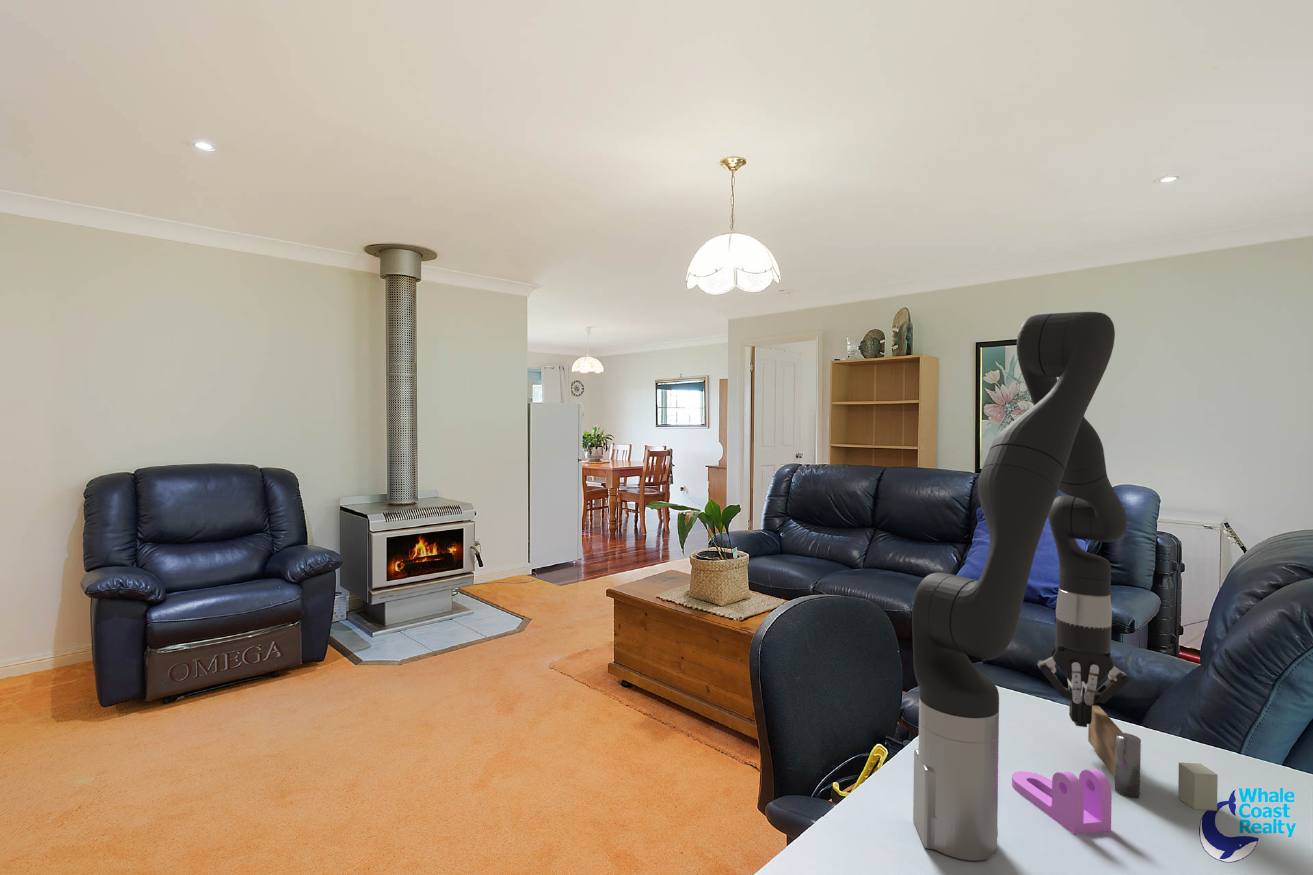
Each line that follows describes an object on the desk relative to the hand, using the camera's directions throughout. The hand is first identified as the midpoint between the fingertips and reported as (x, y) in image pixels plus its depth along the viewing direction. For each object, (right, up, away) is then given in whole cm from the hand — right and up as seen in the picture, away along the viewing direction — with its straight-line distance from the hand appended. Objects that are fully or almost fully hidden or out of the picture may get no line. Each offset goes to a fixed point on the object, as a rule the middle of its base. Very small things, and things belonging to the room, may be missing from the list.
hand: (1080, 724), depth 105 cm
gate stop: (+7, -5, -14) cm, 17 cm away
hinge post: (-1, -5, -12) cm, 13 cm away
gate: (+2, -4, -4) cm, 5 cm away
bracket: (-14, -5, -15) cm, 21 cm away
